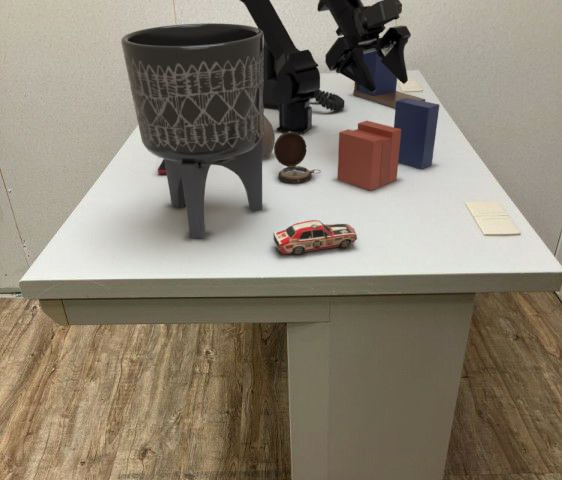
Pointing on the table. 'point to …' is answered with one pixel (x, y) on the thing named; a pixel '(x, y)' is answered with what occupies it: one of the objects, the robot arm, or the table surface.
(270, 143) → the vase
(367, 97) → the book rack
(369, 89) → the robot arm
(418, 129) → the navy book
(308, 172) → the compass
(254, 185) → the planter
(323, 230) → the race car
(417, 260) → the table surface
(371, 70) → the navy books
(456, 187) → the table surface
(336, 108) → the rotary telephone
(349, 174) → the brick-red books
